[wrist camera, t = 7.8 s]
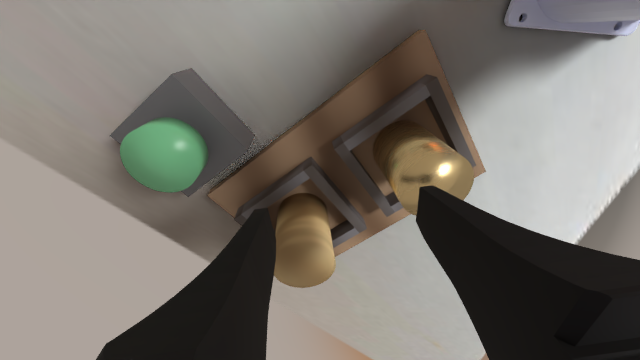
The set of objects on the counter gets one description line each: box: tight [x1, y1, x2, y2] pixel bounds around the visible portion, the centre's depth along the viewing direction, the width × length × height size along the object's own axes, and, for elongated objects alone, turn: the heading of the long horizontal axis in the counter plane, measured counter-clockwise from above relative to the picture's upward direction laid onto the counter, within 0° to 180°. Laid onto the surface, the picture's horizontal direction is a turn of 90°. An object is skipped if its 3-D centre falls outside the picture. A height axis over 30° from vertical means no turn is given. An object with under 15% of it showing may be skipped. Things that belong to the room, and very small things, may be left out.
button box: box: [110, 68, 255, 197], centre depth 17 cm, size 6×6×3 cm
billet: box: [373, 120, 474, 216], centre depth 17 cm, size 4×4×6 cm
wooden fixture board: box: [207, 30, 486, 288], centre depth 19 cm, size 20×13×7 cm, turn 126°
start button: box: [120, 117, 208, 192], centre depth 15 cm, size 4×4×2 cm
